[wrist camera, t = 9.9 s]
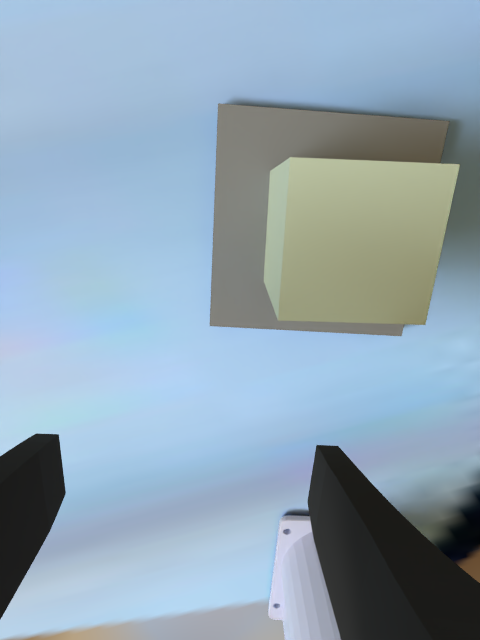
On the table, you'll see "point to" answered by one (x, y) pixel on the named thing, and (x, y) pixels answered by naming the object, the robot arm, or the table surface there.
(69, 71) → the table surface
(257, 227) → the coaster
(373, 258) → the block
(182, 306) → the table surface
